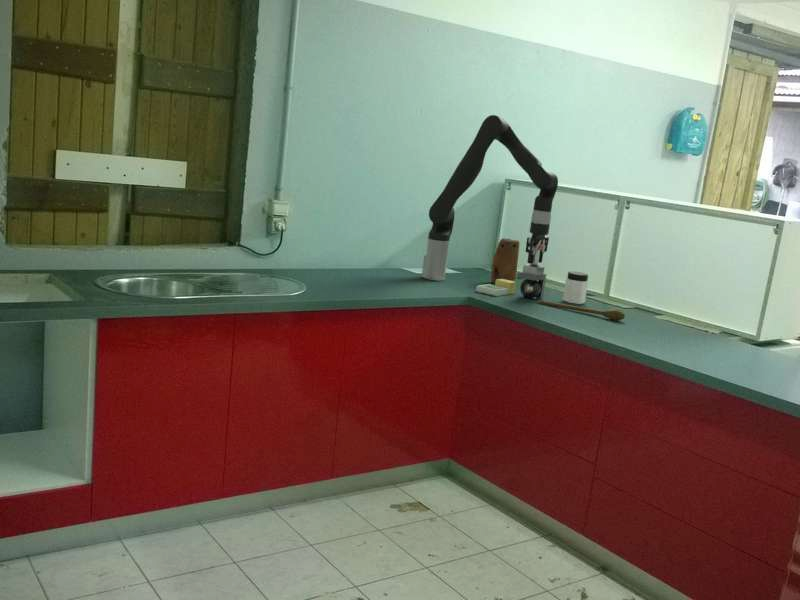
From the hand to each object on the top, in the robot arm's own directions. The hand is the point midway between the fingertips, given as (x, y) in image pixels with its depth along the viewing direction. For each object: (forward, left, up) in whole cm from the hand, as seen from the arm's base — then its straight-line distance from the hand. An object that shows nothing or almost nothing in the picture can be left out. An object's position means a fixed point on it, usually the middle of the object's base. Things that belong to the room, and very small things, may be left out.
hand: (534, 262), depth 323 cm
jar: (+12, +15, -15) cm, 25 cm away
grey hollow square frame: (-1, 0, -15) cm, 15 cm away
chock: (-13, +1, -15) cm, 20 cm away
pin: (0, 0, -4) cm, 4 cm away
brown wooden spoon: (+24, -4, -15) cm, 29 cm away
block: (-24, +17, -15) cm, 33 cm away
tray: (-14, -7, -15) cm, 21 cm away
